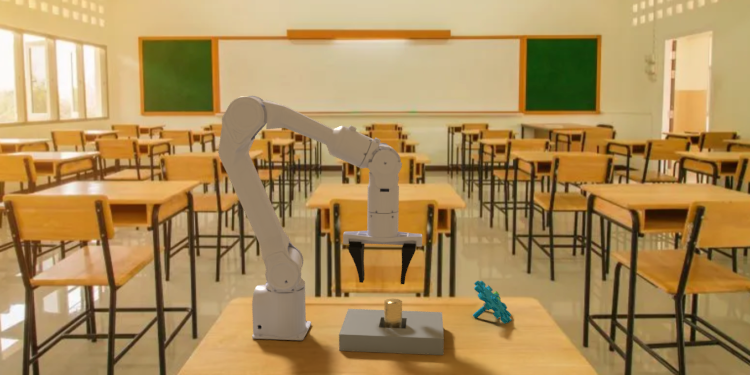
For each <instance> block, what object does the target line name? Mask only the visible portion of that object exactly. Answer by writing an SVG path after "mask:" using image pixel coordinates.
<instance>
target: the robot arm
mask: <svg viewBox="0 0 750 375" xmlns="http://www.w3.org/2000/svg"><path fill="white" fill-rule="evenodd" d="M265 126H266V127H265ZM264 127H265V129H266V130H274V129H286V130H289V131H292V132H294V133H297V134H298V135H299V134H300V135H301V136H303V137H306V138H308V139H311V140H314V141H316V142H318V143H321V144H323V145H325V146H326V148H327V151H328V153H329V155H330V156H332V157H335V158H337V159H339V160H342V161H343V162H345V163H348V164H350V165H352V166H355V167H356V168H359V169H368V170H369V171H368V178H369V179H368V185H367V210H366V211H367V215H366V216H367V221H366V222H367V223H366V226H367V230H358V231H356V230H354V231H351V230H350V231H344V232H343V234H342V244H343V245H348V248H347V250H348V253H349V254H350V257H351V258H352V260H353V262H354V264H355V268H356V271H357V275H358V280H359V283H364V281H365V276H366V275H365V245H391V246H392V245H394V246H402V248H401V271H400V272H401V273H400V285H405V283H406V276H407V272H408V269H409V266H410V264H411V262H412V259H413V257H414V255H415V252H416V248H417V247H418V248H419V247H423V234H422V233H413V232H412V233H411V232H405V231H399V211H400V210H399V209H400V208H399V204H400V196H399V195H400V186H399V174H400V172H401V169H402V166H403V162H401V157H400V154H399V153H398V152H397V150H396V149H394V147H393V146H390V145H389V144H388V143H386V142H381V139H380V138H378V137H374V138H372V137H369V136H368V135H365V134H363V133H361V132H358V131H357V127H356V126H353V125H352V124H350V125H349V126H345V125H340V126H338V127H334V128H332V127H329V126H328V125H325V124H324V123H323V122H319V121H318V120H316V119H313V118H312V117H309V116H307V115H306V114H303V113H302V112H300V111H298V110H295V109H293V108H291V107H289V106H286V105H285V104H282V103H278V102H274V101H271V100H267V99H266V100H265V99H263V98H261V97H259V96H256V95H247V96H245V95H244V96H239V97H237V98H235V99H233V100H232V101H231V102H230V103H229V105H228V106H227V108H226V109H225V112H224V113H223V116H222V117H221V131H220V139H219V144H218V145H219V146H218V152H217V153H218V156H219V159H220V161H221V164H222V166H223V168H224V170H225V171H226V175H227V176H228V178H229V180H230V184H232V187H233V189H234V192H235V194H236V195H237V198H238V200H239V202H240V205H241V207H242V209H243V211H244V213H245V215H246V218H247V220H248V223H249V224H250V226H251V228H252V230H253V233H254V235H255V237H256V239H257V241H258V244H259V248H260V253H261V259H262V260H263V262H264V265H265V273H264V274H265V280H266V282H265V284H258V285H256V286H255V288H254V290H253V295H252V300H251V301H252V304H251V308H252V309H251V310H252V335H251V337H252V339H255V340H256V339H258V340H260V339H261V340H281V341H282V340H283V341H285V340H286V341H287V340H288V341H303V340H304V339H305V337H306V335H307V333H308V331H309V329H310V327H311V325H312V322H311V321H310V320H306V319H307V318H306V314H307V313H306V282H305V280H304V279H303V277H302V268H303V265H304V255H303V253H302V252H301V250H300V249H299V248H297V247H296V246H295V245H294V244H293V243H292V241H291V239H290V237H289V235H288V234H287V233H286V231H285V230H284V228H283V227H282V224H281V222H280V219H279V217H278V216H277V213H276V211H275V209H274V206H273V204H272V202H271V200H270V198H269V195H268V193H267V191H266V189H265V186H264V185H263V182H262V180H261V177H260V175H259V173H258V171H257V169H256V166H255V165H254V162H253V160H252V158H251V155H250V150H251V148H252V146H253V143H254V142H255V139H256V136H257V135H258V134H259V133H260V132H261V131H262V129H263V128H264Z"/></svg>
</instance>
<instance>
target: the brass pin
mask: <svg viewBox="0 0 750 375" xmlns="http://www.w3.org/2000/svg"><path fill="white" fill-rule="evenodd" d="M383 308H384V309H383V310H384V328H402V311H403V301H402V299H398V298H387V299H386V300H384V306H383Z"/></svg>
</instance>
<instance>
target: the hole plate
mask: <svg viewBox="0 0 750 375" xmlns="http://www.w3.org/2000/svg"><path fill="white" fill-rule="evenodd" d="M443 322H444V320H443V311H418V310H417V311H416V310H402V328H384V309H368V308H367V309H366V308H359V309H358V308H348V309H347V312H346V313H345V317H344V320H343V322H342V324H341V329H340V331H339V332H338V333H339V334H338V350H339V352H340V351H342V352H361V353H362V352H363V353H365V352H367V353H387V354H405V355H406V354H409V355H410V354H411V355H431V356H432V355H433V356H434V355H435V356H444V346H445V345H444V344H445V341H444V340H445V338H444V323H443Z"/></svg>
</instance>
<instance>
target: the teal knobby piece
mask: <svg viewBox="0 0 750 375" xmlns="http://www.w3.org/2000/svg"><path fill="white" fill-rule="evenodd" d="M473 284H474V285H475V286H474V287H473V288H474V291H475V292H477V293H478V294H477V297H478V299H479V300H481V301H483V302H484V303H483V304H482V306H481V307H480V308H479V309H478V310H476V311H475V312H474V313H473V314H472V317H473V318H474V319H478V318H479V317H480V316H481V315H483V314H484V313H485V312H486V311H490V310H492V311H493V313H492V315H493V316H494V318H495V319H496V320H498V319H499V318H500V319H499V320H500V321H501V322H502V324H506V323H507V324H509V323H510V322H512V318H511V316H512V313H511V312H510V311H509V310H507V309H508V306H507V305H506V303H505V302H503V301H502V300H501V297H500V293H499V292H498V291H497V290H495V291H494V292H493V288H492V287H491V286H490V285H489V284H488V285H486V283H485V281H483V280H476V281H475V282H473Z"/></svg>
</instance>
